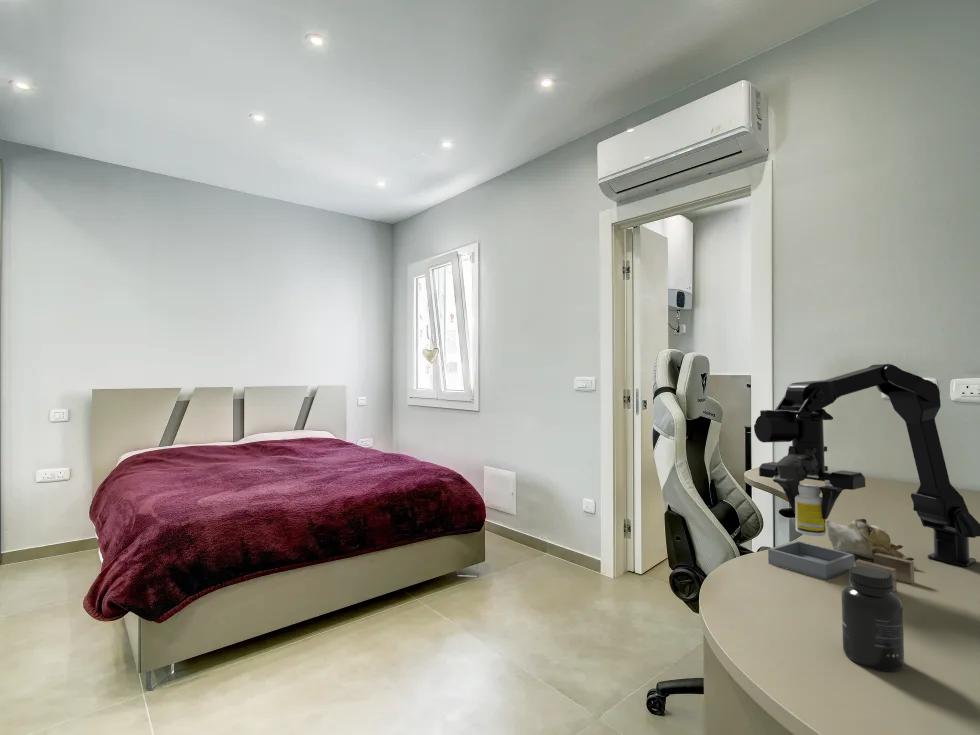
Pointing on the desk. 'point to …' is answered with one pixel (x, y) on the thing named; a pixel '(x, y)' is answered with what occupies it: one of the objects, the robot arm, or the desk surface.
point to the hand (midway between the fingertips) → (810, 516)
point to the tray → (811, 559)
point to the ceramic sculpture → (862, 539)
